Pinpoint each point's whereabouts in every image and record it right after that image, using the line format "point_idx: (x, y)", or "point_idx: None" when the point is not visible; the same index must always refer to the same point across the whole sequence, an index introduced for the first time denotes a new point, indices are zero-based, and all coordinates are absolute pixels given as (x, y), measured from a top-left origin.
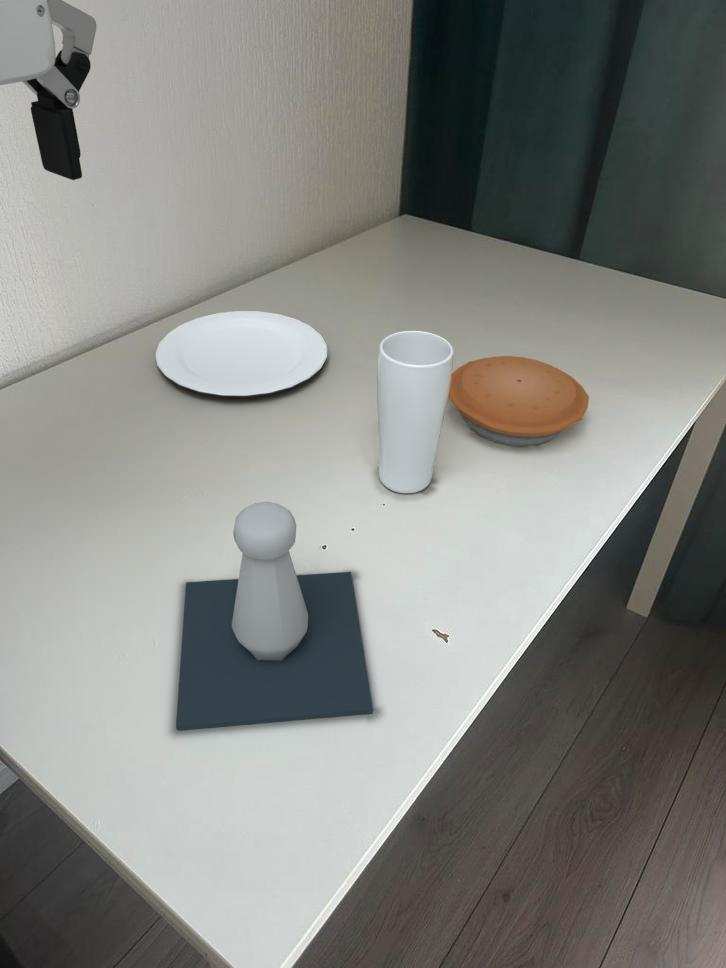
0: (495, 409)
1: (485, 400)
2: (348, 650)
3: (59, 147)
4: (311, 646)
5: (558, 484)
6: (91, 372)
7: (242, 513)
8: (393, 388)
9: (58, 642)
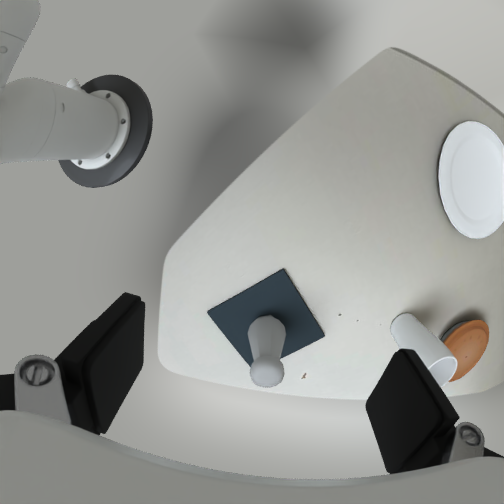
0: None
1: (451, 350)
2: None
3: (383, 424)
4: None
5: None
6: (427, 87)
7: (264, 369)
8: None
9: (219, 232)
